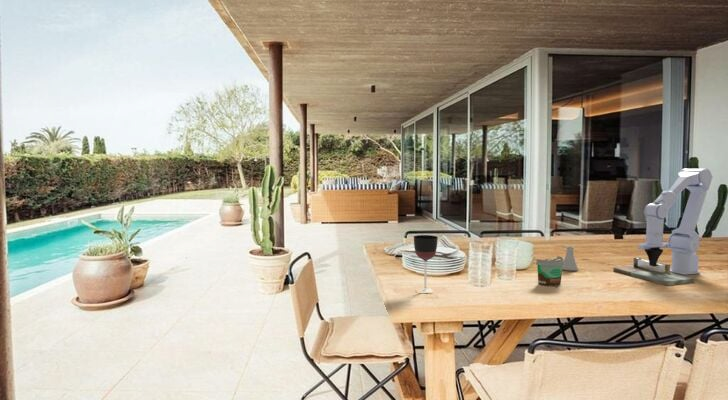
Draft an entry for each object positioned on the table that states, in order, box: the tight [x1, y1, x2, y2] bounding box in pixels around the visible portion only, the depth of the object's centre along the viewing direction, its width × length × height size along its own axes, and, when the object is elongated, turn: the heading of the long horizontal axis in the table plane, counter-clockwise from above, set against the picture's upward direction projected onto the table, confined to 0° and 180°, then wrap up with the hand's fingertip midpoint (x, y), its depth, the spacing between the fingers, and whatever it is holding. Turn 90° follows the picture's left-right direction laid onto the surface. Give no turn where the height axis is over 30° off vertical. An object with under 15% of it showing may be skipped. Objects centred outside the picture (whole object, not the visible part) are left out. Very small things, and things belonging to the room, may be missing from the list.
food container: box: [535, 255, 565, 287], centre depth 171 cm, size 12×6×10 cm, turn 117°
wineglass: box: [413, 234, 439, 292], centre depth 163 cm, size 8×9×20 cm
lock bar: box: [632, 257, 665, 273], centre depth 187 cm, size 14×3×4 cm, turn 13°
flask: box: [562, 245, 579, 272], centre depth 195 cm, size 7×7×10 cm
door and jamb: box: [613, 261, 694, 286], centre depth 182 cm, size 14×24×5 cm, turn 18°
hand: (652, 265), depth 183 cm, fingers closed
